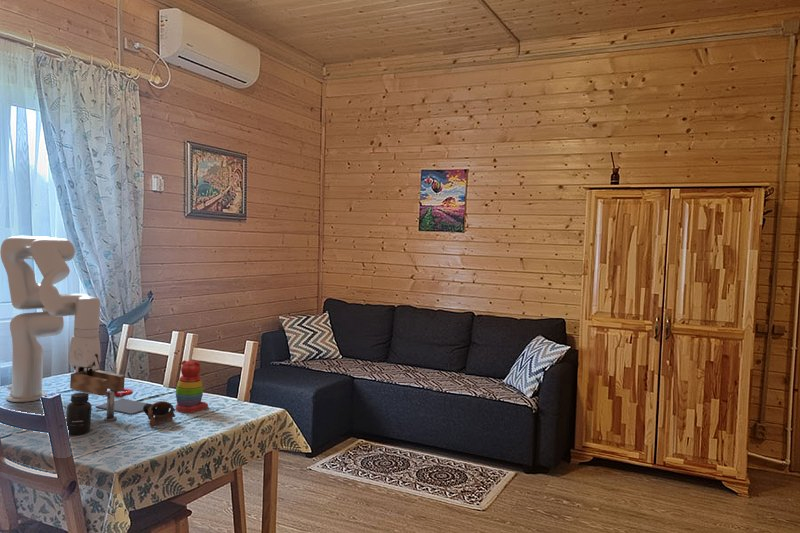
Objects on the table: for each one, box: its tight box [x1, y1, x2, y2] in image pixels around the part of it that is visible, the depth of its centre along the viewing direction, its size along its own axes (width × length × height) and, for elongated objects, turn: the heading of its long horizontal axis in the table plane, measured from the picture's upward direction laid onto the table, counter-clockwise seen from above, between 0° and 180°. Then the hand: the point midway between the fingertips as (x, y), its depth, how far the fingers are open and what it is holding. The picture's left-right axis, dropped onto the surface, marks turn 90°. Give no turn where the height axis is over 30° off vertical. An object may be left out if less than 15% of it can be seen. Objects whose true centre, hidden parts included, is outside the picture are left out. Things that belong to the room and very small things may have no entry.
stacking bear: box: [175, 360, 209, 413], centre depth 214 cm, size 11×10×18 cm
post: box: [103, 390, 117, 422], centre depth 197 cm, size 4×4×10 cm
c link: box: [69, 369, 126, 397], centre depth 200 cm, size 14×9×5 cm, turn 68°
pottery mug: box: [142, 400, 177, 428], centre depth 197 cm, size 12×10×8 cm
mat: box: [95, 398, 154, 416], centre depth 213 cm, size 17×12×1 cm
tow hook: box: [108, 361, 133, 397], centre depth 231 cm, size 8×13×9 cm
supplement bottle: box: [65, 392, 92, 437], centre depth 184 cm, size 7×7×12 cm
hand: (83, 385), depth 202 cm, fingers closed on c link
